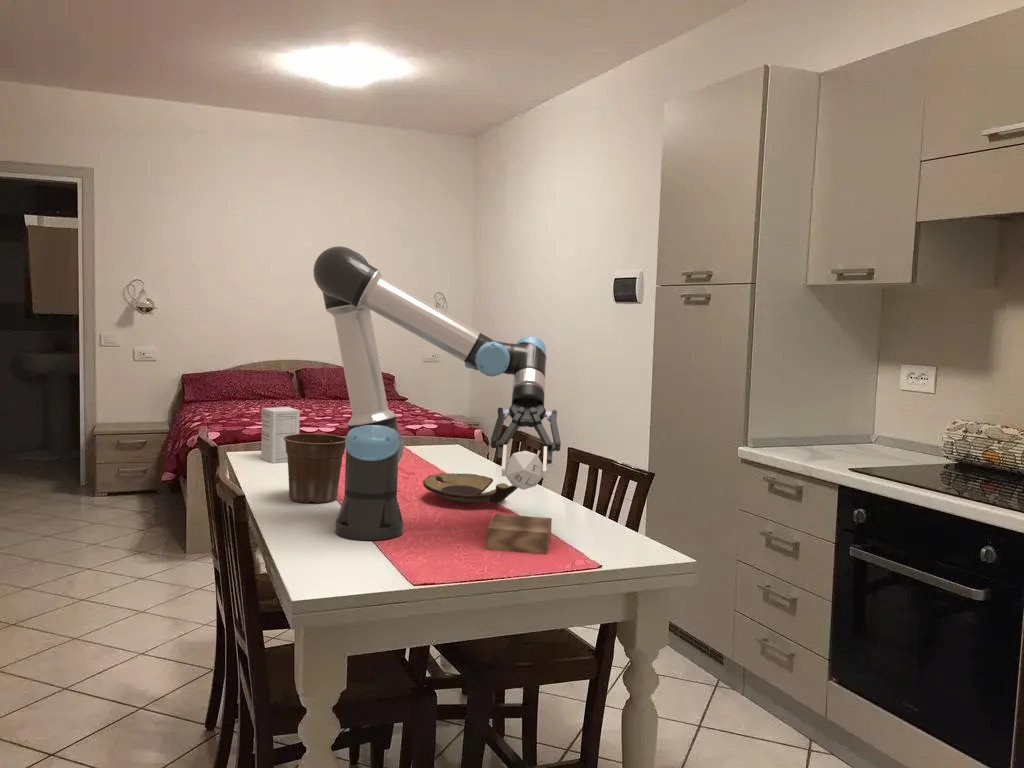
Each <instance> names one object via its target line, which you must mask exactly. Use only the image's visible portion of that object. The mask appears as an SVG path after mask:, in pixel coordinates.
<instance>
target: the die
mask: <svg viewBox="0 0 1024 768" xmlns="http://www.w3.org/2000/svg"><path fill="white" fill-rule="evenodd" d="M504 477H506V478H507V480H508V481H509V483H510V484H511V486H512V485H513V486H515V487H518V488H517V489H519V490H528V489H530V488H534V487H536V486H537V485H538V484H539V482H540V481H541V480H542V479H543V462H542V461H541V459H540V457H539V456H538V454H536V453H534V452H530V451H529V450H522V451H517V452H513V453H512V454H511V455H510V457H509V458H508V460H507V461H506V473H505V476H504Z"/></svg>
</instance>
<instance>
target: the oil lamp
mask: <svg viewBox="0 0 1024 768" xmlns="http://www.w3.org/2000/svg"><path fill="white" fill-rule="evenodd" d="M493 482H494V479H493V478H492V477H488V476H485V475H479V474H476V473H475V474H474V473H458V472H457V473H453V472H452V473H451V472H450V473H449V472H448V473H437V474H433V475H431V474H430V475H428V477H426V478H424V480H423V481H422V484H423V487H424V488H425V489H426V490H427V491H430V493H432V494H434V495H436V496H438V497H440V498H442V499H444V500H446V501H450V502H452V503H456V504H464V505H475V504H476V505H477V504H483V503H492V504H500V503H502V502H503V501H504V500H505V499H506V498H508V497H509V496H510V495H511V494H513V493H514V492H515V491H517V489H519V488H518V487H515V486H513V485H512V484H511V485H508V484H507V483H504V482H500V483H498V484H496V485H495V488H494V489H491V490H490V491H486V489H488V488H489V487H490V485H492V483H493ZM483 492H484V493H483Z"/></svg>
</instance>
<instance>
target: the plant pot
mask: <svg viewBox="0 0 1024 768" xmlns="http://www.w3.org/2000/svg"><path fill="white" fill-rule="evenodd" d="M284 440H285V444H286V453H287V457H288V462H287V471H288V473H287V475H288V492H289V493H288V494H289V495H288V497H289V499H290V500H291V501H294V502H295V503H303V504H304V503H305V504H309V503H311V502H313V503H315V504H325V503H330V502H333V501H336V500H337V498H338V493H339V485H340V477H341V469H342V462H343V455H345V452H346V447H345V442H346V440H347V437H345V436H342V435H336V434H329V433H309V432H308V433H299V434H293V435H287V436H285V437H284Z"/></svg>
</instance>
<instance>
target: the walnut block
mask: <svg viewBox="0 0 1024 768" xmlns="http://www.w3.org/2000/svg"><path fill="white" fill-rule="evenodd" d="M552 521H553V518H552V517H542V516H528V515H514V514H513V515H512V514H503V513H502V514H501V513H495V514H494V515H493V518H492V519H491V520H490V523H489V524H488V525H487V528H486V543H485V544H486V545H485V549H486V550H490V551H491V550H493V551H502V552H504V551H505V552H518V553H527V552H528V553H530V554H540V553H543V554H542V555H547V553H548V551H549V550H548V549H549V547H548V546H550V543H549V542H551V539H552ZM550 538H551V539H550ZM547 550H548V551H547Z"/></svg>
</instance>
